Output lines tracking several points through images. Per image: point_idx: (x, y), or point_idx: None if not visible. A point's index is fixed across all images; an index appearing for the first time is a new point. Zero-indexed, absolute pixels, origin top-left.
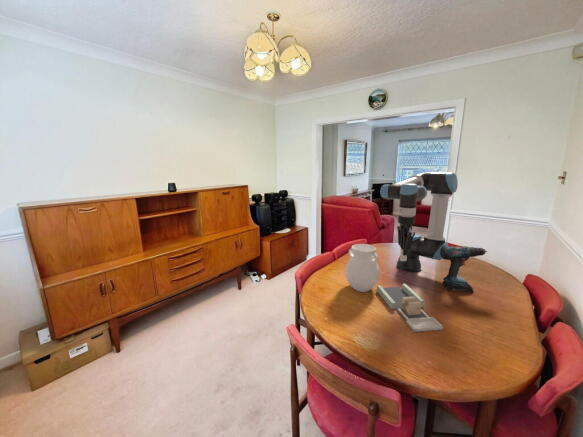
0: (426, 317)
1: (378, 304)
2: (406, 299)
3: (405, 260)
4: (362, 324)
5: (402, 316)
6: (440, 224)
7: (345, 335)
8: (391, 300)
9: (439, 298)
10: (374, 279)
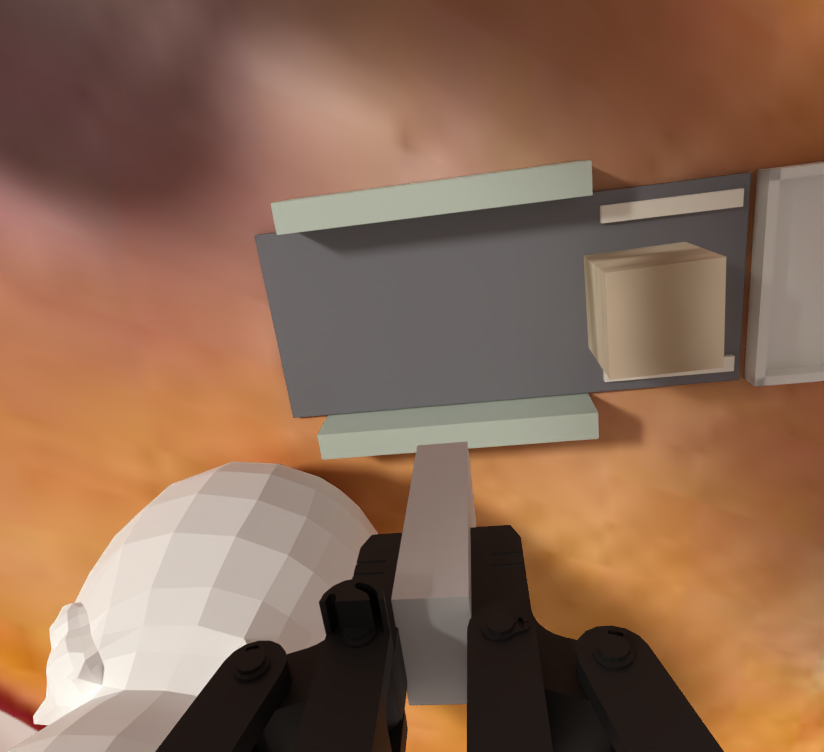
0: (767, 228)
1: (519, 479)
2: (649, 362)
3: (469, 461)
4: (723, 623)
5: (692, 382)
6: None
7: (800, 716)
8: (561, 430)
9: None
10: None
